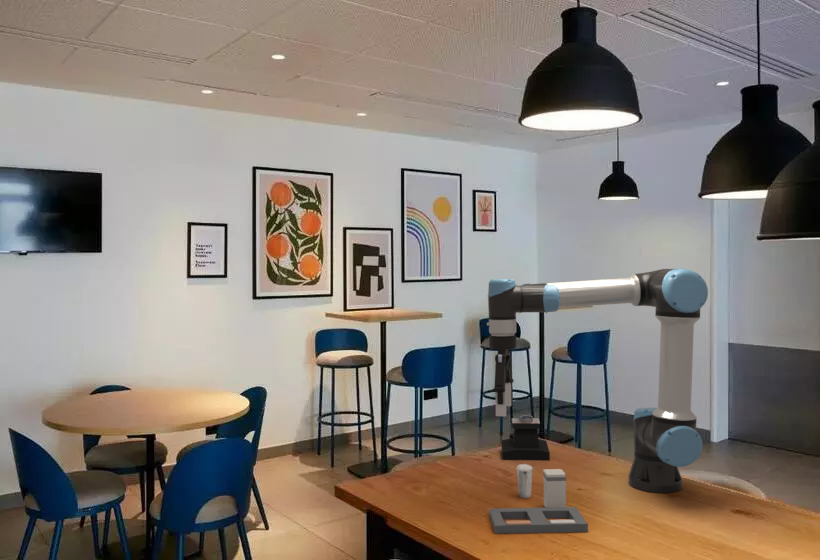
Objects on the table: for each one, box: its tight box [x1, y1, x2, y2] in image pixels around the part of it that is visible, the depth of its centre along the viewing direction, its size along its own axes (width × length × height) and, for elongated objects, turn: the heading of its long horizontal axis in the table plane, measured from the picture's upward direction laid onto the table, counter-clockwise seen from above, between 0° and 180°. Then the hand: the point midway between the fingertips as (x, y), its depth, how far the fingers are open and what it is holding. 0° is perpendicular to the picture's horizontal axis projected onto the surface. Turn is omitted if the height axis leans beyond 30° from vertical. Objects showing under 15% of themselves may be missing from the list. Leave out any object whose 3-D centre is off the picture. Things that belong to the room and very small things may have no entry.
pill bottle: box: [516, 463, 535, 499], centre depth 197 cm, size 4×5×10 cm
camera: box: [500, 414, 551, 462], centre depth 240 cm, size 16×14×15 cm
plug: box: [542, 468, 567, 508], centre depth 187 cm, size 5×5×10 cm
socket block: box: [488, 506, 589, 535], centre depth 176 cm, size 23×12×2 cm, turn 90°
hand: (503, 410), depth 190 cm, fingers open, 13 cm apart
